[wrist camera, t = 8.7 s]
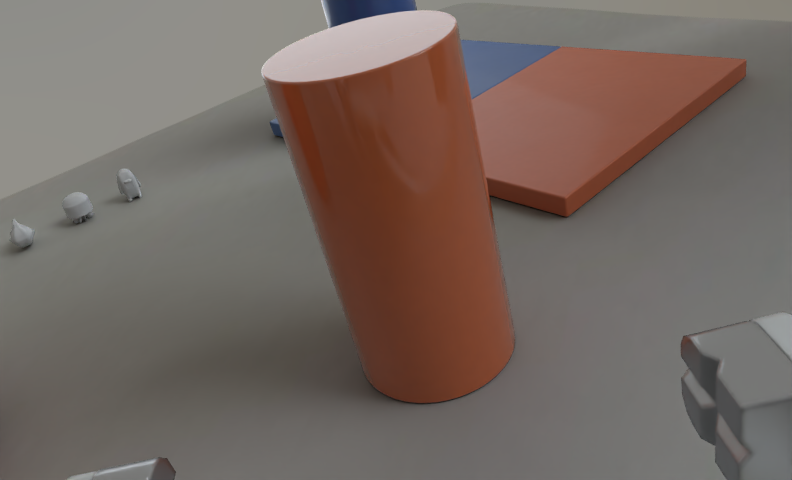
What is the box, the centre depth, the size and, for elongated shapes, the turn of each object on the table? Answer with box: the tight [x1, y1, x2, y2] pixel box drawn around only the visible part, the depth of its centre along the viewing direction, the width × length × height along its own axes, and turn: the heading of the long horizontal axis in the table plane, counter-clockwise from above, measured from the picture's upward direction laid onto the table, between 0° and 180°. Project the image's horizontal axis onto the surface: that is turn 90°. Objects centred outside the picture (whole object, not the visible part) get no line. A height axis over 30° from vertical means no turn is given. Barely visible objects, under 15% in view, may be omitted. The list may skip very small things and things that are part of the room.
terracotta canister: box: [262, 10, 515, 403], centre depth 22 cm, size 6×6×11 cm
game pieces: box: [9, 169, 142, 247], centre depth 41 cm, size 8×2×2 cm, turn 122°
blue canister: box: [321, 0, 417, 28], centre depth 42 cm, size 6×6×11 cm
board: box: [270, 40, 746, 217], centre depth 42 cm, size 24×16×1 cm, turn 42°
